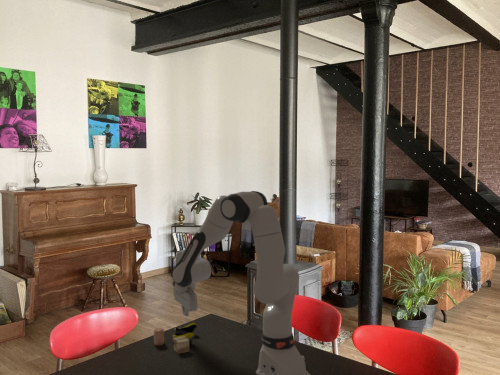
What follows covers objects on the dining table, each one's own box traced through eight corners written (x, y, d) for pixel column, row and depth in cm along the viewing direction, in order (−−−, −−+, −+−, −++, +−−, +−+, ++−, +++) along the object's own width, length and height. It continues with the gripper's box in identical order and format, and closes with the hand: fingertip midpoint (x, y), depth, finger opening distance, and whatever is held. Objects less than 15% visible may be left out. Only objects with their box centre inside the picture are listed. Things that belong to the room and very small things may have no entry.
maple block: (189, 351, 195) (189, 340, 195) (178, 354, 193) (177, 342, 192) (185, 347, 199) (184, 336, 199) (174, 349, 197) (173, 338, 197)
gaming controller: (197, 333, 215) (175, 333, 215) (197, 321, 215) (175, 322, 215) (194, 346, 200) (171, 347, 200) (193, 334, 200) (170, 334, 200)
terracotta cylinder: (165, 344, 203) (165, 330, 202) (155, 346, 201) (155, 332, 200) (162, 340, 207) (162, 327, 206) (152, 342, 204) (152, 329, 204)
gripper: (201, 289, 198) (201, 321, 199) (183, 278, 216) (184, 307, 217) (187, 291, 195) (187, 323, 196) (170, 280, 213) (171, 309, 214)
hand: (185, 315), depth 207 cm, fingers closed
